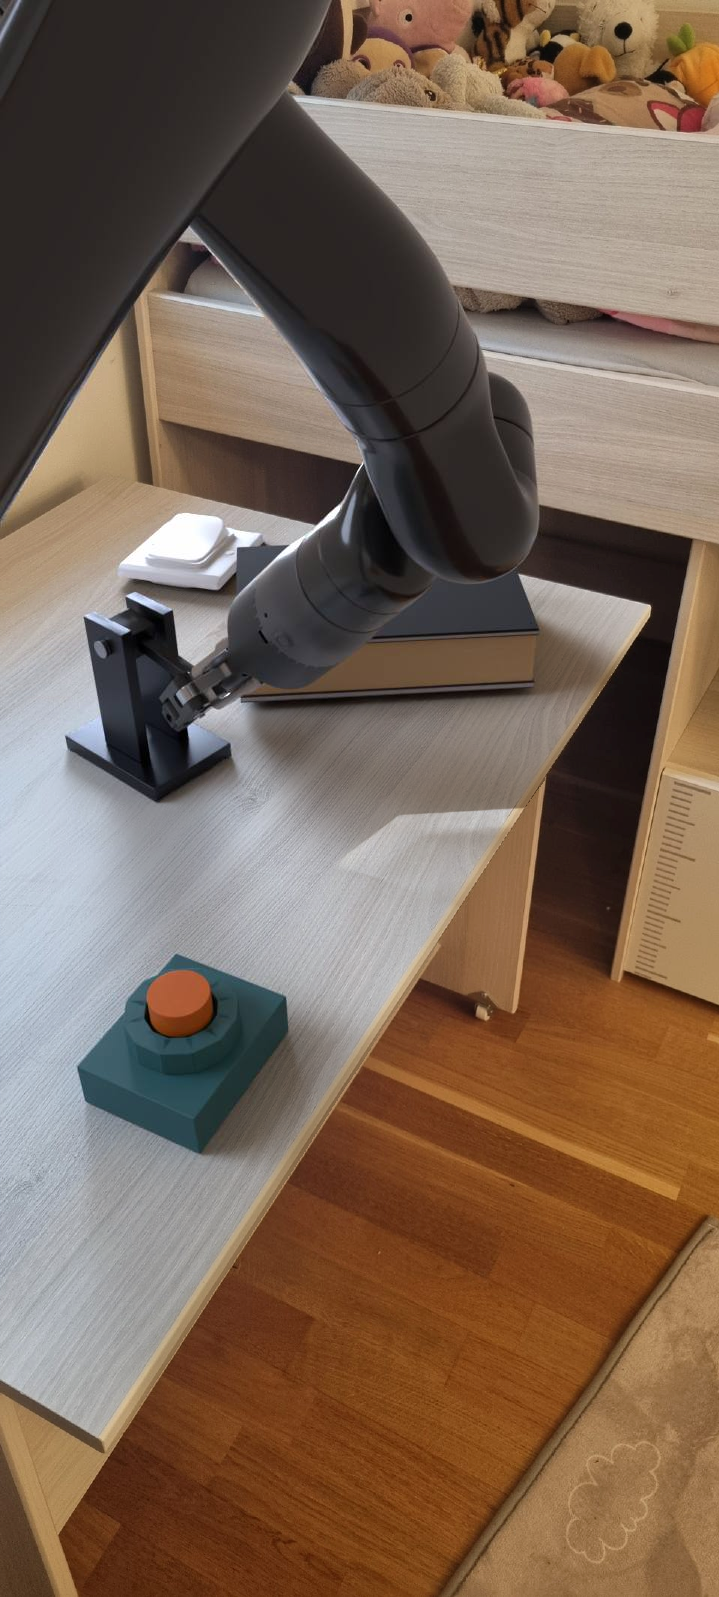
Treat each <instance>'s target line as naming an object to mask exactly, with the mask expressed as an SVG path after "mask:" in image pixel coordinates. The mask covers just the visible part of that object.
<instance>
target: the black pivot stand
mask: <svg viewBox="0 0 719 1597" xmlns="http://www.w3.org/2000/svg"><path fill="white" fill-rule="evenodd" d="M124 598H125V604H126V609H128V608H131V609H133V610H134V611H136V612H137V613H139V614H140V615H142V616H143V617H144V618H146V619H147V620H149V621H150V622H152V623H153V624H154V638H155V639H156V640H157V641H159V642H160V643H162V644H163V645H165V646H166V647H168V648H169V649H170V650H172V651H173V652H175V653H176V654H178V655H179V648H178V638H177V632H176V623H175V615H174V610H173V609H172V608H170V607H168V606H167V605H165V604H162V603H159V602H157V601H155V600H153V599H152V598H149V597H147V596H145V595H143V594H141V593H138V592H137V591H133V592H131V593H129V594H127V595H125V596H124ZM83 622H84V628H85V633H86V639H87V644H88V651H89V655H90V662H91V667H92V673H93V679H94V684H95V690H96V695H97V696H96V697H97V702H98V708H99V712H100V713H99V714H100V716H98V717H96V718H94V719H92V720H90V721H89V722H87V723H85V724H83V725H82V726H80V727H78V728H76V729H74V730H72V731H70V732H69V733H67V734H65V735H64V738H65V743H66V748H67V750H70V751H71V752H73V753H75V754H76V755H78V756H79V757H81V758H83V759H84V760H86V761H88V762H89V763H91V764H92V765H94V766H95V767H97V768H99V769H101V770H102V771H104V772H106V773H107V774H109V775H111V776H112V777H113V778H116V779H117V780H119V781H121V782H122V783H124V784H125V785H126V786H129V787H130V788H132V789H134V790H135V791H137V792H138V793H140V794H142V795H143V796H145V797H147V798H148V799H150V800H151V801H153V802H155V803H158V802H160V801H162V800H163V799H164V798H166V797H168V796H170V795H172V794H173V793H174V792H176V791H178V790H179V789H181V788H183V787H184V786H186V785H187V784H189V783H190V782H192V781H194V780H195V779H197V778H198V777H200V776H202V775H203V774H205V773H206V772H208V771H209V770H211V769H213V768H214V767H216V766H218V765H219V764H221V763H223V762H224V761H226V760H227V759H229V758H230V757H232V746H231V742H229V741H228V740H226V739H224V738H222V737H220V736H218V735H217V734H216V733H214V732H211V731H209V730H207V729H205V728H204V727H202V726H201V725H198V724H196V723H194V722H193V723H191V724H190V725H189V726H188V727H186V728H185V729H183V730H181V731H180V732H178V731H176V730H175V729H174V728H173V729H172V728H171V726H170V725H169V723H168V722H167V720H166V719H165V717H164V716H163V714H162V711H163V709H162V707H163V705H164V704H163V703H162V702H161V700H160V699H159V697H160V696H161V695H162V693H163V692H164V691H165V689H166V688H167V687H168V685H169V684H170V683H171V681H172V680H173V679H175V678H176V677H175V676H174V675H172V674H171V673H169V672H168V671H167V670H165V669H164V668H162V667H161V666H160V665H158V664H157V663H155V662H154V661H152V660H151V659H150V658H148V657H147V656H145V655H143V656H141V657H139V658H137V659H136V657H135V651H134V644H133V637H132V631H131V630H129V629H127V628H125V627H123V626H121V625H119V624H117V623H115V622H113V621H111V620H109V619H108V617H105V616H103V615H101V614H99V613H97V612H95V611H92V612H90V613H87V614H85V615H84V616H83Z"/></svg>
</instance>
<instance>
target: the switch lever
mask: <svg viewBox="0 0 719 1597" xmlns="http://www.w3.org/2000/svg"><path fill="white" fill-rule="evenodd" d="M107 619H109V620H111V621H113V622H115V623H117V624H119V625H121V626H123V627H125V628H127V629H129V630H131V631H132V637H133V644H134V651H135V657H136V659H137V658H139V657H141V656H143V655H145V656H147V657H148V658H150V659H151V660H152V661H154V662H155V663H157V664H158V665H160V666H161V667H162V668H164V669H165V670H167V671H168V672H169V673H171V674H172V675H174V676H176V675H177V674H179V673H181V672H182V673H184V672H186V671H188V673H189V672H190V673H191V674H192V668H193V667H194V666H195V665H193V664H192V663H190V662H189V661H187V660H186V659H185V658H184V657H182V656H181V655H179V653H178V654H176V653H175V652H173V651H172V650H170V649H169V648H168V647H166V646H165V645H163V644H162V643H160V642H159V641H157V640H156V639H155V638H154V624H153V623H152V622H150V621H149V620H147V619H146V618H144V617H143V616H142V615H140V614H139V613H137V612H136V611H134V610H133V609H131V608H128V609H127V608H126V609H124V610H122V611H120V612H117V613H116V614H114V615H111V616H110V617H107ZM225 690H226V689H225ZM234 690H235V689H234ZM234 690H226V691H227V692H229V693H231V692H232V691H234ZM205 695H206V694H205ZM206 697H207V695H206ZM207 698H208V697H207Z"/></svg>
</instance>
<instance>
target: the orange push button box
mask: <svg viewBox="0 0 719 1597" xmlns="http://www.w3.org/2000/svg"><path fill="white" fill-rule="evenodd" d="M178 970H187V971H193V972H196V973H198V974H200V975H202V976H203V977H204V978H205V979H206V980H207V981H208V983H209V985H210V989H211V997H212V1005H213V1015H212V1018H211V1020H210V1022H209V1023H208V1025H207V1026H206V1027H205V1028H204V1029H202V1030H201V1031H199V1032H198V1033H196V1034H193V1035H191V1036H187V1037H180V1038H175V1037H169V1036H166V1035H163V1034H161V1033H160V1032H158V1031H157V1030H156V1029H155V1028H154V1027H153V1025H152V1023H151V1020H150V1014H149V1009H148V1003H147V992H148V990H149V987H150V986H151V984H152V983H153V982H154V981H155V980H156V979H157V978H159V977H160V976H162V975H164V974H166V973H169V972H172V971H178ZM289 1031H290V1030H289V1016H288V1003H287V996H286V995H284V994H281V993H279V992H276V991H273V990H271V989H268V988H266V987H264V986H261V985H258V984H256V983H253V982H251V981H248V980H245V979H243V978H240V977H238V976H235V975H233V974H230V973H227V972H225V971H222V970H220V969H217V968H214V967H211V966H209V965H207V964H204V963H201V962H199V961H196V960H194V959H191V958H188V957H186V956H183V955H181V954H178V953H175V954H174V955H173V956H172V957H171V958H170V959H169V961H168V962H167V963H166V964H165V965H164V967H163V968H162V969H161V970H160V971H159V972H158V974H156V975H154V976H151V977H149V978H147V979H145V980H143V981H142V982H141V983H140V985H138V986H137V987H136V989H135V990H134V992H133V993H131V994H130V996H129V997H128V998H127V999H126V1001H125V1006H124V1012H123V1013H122V1014H121V1016H120V1017H119V1018H117V1020H116V1021H115V1022H114V1023H113V1024H112V1025H111V1027H110V1028H109V1029H108V1030H107V1032H105V1034H104V1035H103V1036H102V1037H101V1038H100V1039H99V1041H98V1042H97V1043H96V1044H95V1045H94V1046H93V1047H92V1049H91V1050H90V1051H88V1053H87V1054H86V1056H84V1057H83V1059H82V1060H81V1061H80V1062H79V1063H78V1065H77V1066H76V1070H77V1074H78V1077H79V1083H80V1086H81V1090H82V1093H83V1098H84V1101H85V1102H86V1103H87V1104H90V1105H92V1106H93V1107H96V1108H98V1109H100V1110H103V1111H105V1112H107V1113H109V1114H111V1115H113V1116H116V1117H118V1118H120V1119H122V1120H124V1121H127V1122H129V1123H131V1124H133V1125H135V1126H138V1127H140V1128H141V1129H144V1130H146V1131H148V1132H151V1133H152V1134H155V1135H156V1136H159V1137H161V1138H164V1139H166V1140H168V1141H170V1142H172V1143H175V1144H177V1145H179V1146H181V1147H183V1148H185V1149H188V1150H190V1151H192V1152H194V1153H196V1154H198V1155H199V1154H201V1153H202V1152H203V1150H204V1149H205V1147H206V1146H207V1145H208V1144H209V1142H210V1140H211V1139H212V1138H213V1136H214V1135H215V1134H216V1133H217V1131H218V1129H219V1128H220V1127H221V1125H223V1123H224V1121H225V1120H226V1119H227V1117H228V1116H229V1114H230V1113H231V1112H232V1110H233V1109H234V1107H235V1106H236V1105H237V1103H238V1102H239V1101H240V1099H241V1097H242V1096H243V1095H244V1094H245V1092H246V1091H247V1090H248V1088H249V1087H250V1086H251V1084H252V1083H253V1081H254V1080H255V1079H256V1078H257V1076H258V1074H259V1073H260V1072H261V1070H262V1069H263V1067H264V1066H266V1063H267V1062H268V1061H269V1060H270V1058H271V1056H272V1055H273V1054H274V1052H275V1051H276V1049H277V1048H278V1047H279V1046H280V1044H281V1043H282V1041H283V1040H284V1038H285V1037H286V1036H287V1035H288V1033H289Z"/></svg>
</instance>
